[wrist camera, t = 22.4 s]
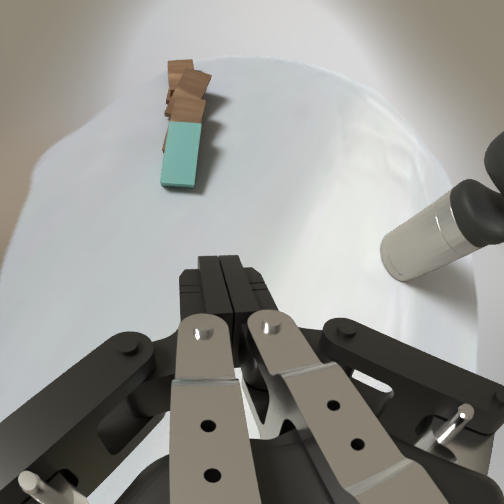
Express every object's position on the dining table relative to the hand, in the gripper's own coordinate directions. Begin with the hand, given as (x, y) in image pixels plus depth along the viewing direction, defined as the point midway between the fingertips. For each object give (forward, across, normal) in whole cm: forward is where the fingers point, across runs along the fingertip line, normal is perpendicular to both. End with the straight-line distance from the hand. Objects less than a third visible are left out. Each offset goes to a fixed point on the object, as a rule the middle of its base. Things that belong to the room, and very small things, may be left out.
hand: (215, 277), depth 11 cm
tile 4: (+47, +2, -10) cm, 48 cm away
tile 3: (+43, +2, -6) cm, 44 cm away
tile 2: (+38, +2, 0) cm, 38 cm away
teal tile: (+34, +2, +4) cm, 34 cm away
